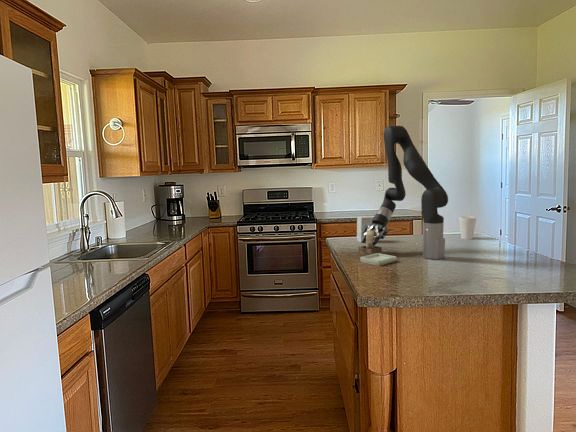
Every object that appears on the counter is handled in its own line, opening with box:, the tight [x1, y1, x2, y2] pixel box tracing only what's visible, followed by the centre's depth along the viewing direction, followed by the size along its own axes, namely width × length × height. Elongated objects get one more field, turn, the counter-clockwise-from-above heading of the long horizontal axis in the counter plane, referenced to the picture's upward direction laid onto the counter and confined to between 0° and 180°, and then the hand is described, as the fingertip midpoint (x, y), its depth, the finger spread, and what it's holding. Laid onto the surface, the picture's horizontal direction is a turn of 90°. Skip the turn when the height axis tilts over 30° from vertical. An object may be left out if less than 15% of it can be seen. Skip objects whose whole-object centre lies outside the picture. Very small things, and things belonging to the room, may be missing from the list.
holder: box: [358, 245, 383, 256], centre depth 207 cm, size 8×8×4 cm
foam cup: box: [458, 215, 477, 240], centre depth 244 cm, size 10×9×13 cm
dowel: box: [365, 230, 375, 249], centre depth 206 cm, size 4×4×12 cm
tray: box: [359, 253, 398, 267], centre depth 191 cm, size 11×13×2 cm
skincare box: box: [356, 216, 375, 244], centre depth 240 cm, size 8×6×15 cm
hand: (368, 243), depth 205 cm, fingers open, 6 cm apart
